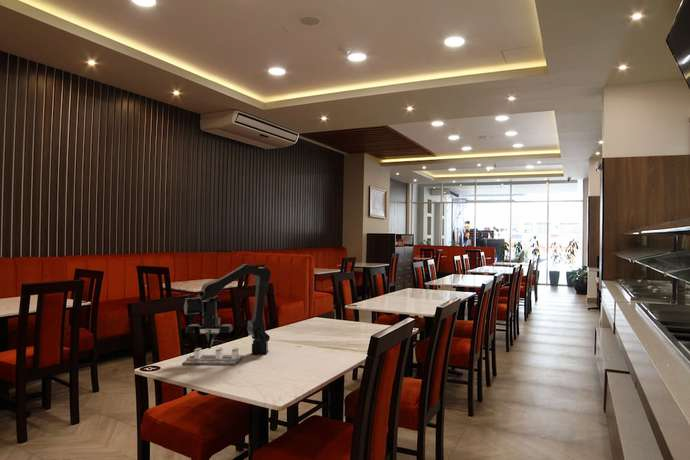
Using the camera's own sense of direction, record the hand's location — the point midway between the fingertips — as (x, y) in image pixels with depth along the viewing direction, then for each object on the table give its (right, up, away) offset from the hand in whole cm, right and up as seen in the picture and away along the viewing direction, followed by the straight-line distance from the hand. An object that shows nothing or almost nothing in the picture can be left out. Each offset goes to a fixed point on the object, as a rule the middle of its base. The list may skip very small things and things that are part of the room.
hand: (209, 348), depth 198 cm
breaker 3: (+11, -5, -1) cm, 12 cm away
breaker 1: (-5, -5, 0) cm, 7 cm away
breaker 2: (+4, -5, 0) cm, 7 cm away
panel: (+2, -5, 0) cm, 6 cm away
